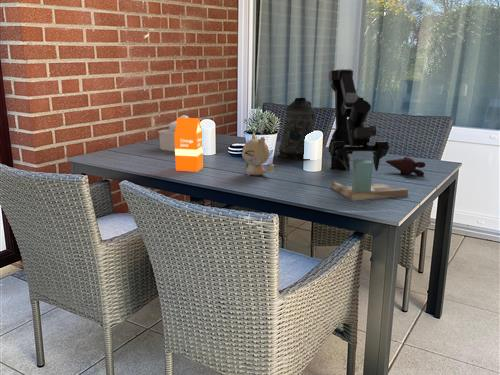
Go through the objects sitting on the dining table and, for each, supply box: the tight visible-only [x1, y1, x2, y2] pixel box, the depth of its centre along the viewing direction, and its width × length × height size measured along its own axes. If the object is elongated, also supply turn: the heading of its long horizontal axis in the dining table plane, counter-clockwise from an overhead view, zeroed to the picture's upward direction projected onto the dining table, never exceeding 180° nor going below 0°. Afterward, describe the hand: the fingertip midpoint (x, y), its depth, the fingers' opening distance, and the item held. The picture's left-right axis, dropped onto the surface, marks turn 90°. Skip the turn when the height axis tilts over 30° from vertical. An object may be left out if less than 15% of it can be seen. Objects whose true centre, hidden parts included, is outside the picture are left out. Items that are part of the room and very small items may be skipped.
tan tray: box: [331, 181, 409, 201], centre depth 164 cm, size 15×20×2 cm
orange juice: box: [174, 117, 204, 173], centre depth 193 cm, size 8×9×20 cm
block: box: [351, 158, 374, 193], centre depth 164 cm, size 5×5×10 cm
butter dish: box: [157, 114, 189, 153], centre depth 232 cm, size 18×18×16 cm
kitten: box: [241, 132, 275, 177], centre depth 186 cm, size 15×10×15 cm
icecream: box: [385, 156, 426, 177], centre depth 188 cm, size 7×7×15 cm
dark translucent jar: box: [278, 97, 316, 161], centre depth 217 cm, size 16×19×25 cm
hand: (362, 170), depth 163 cm, fingers open, 9 cm apart
